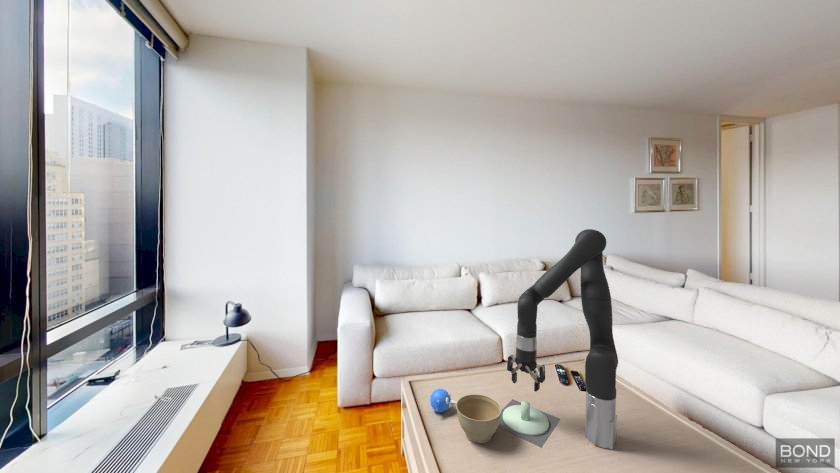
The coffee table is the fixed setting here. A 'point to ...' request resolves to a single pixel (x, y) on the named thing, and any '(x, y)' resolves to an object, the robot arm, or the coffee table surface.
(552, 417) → the mat
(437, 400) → the blue mole toy
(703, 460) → the coffee table surface
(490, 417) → the planter bowl
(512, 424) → the lid
